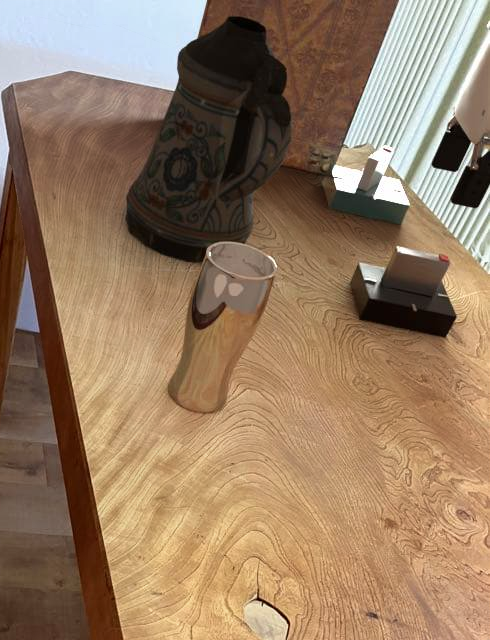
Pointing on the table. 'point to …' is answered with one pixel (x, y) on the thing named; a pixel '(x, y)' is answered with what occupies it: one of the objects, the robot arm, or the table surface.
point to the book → (316, 64)
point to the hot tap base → (400, 304)
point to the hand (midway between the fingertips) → (453, 186)
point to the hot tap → (415, 271)
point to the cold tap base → (365, 196)
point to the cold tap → (375, 168)
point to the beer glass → (220, 322)
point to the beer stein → (213, 144)
